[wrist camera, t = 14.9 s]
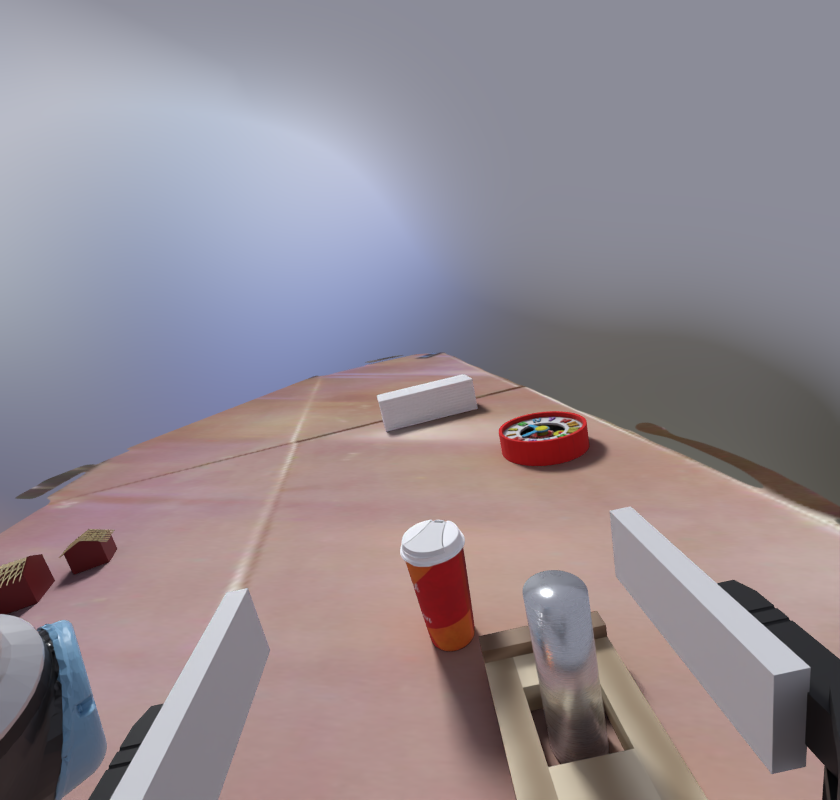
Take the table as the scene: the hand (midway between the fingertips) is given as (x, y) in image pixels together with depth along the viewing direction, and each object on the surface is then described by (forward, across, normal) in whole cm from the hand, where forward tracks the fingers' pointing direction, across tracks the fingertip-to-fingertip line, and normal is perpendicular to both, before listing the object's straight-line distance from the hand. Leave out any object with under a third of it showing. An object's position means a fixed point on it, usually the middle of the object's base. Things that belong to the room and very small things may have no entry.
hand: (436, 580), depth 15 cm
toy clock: (+79, +28, -32) cm, 90 cm away
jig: (+15, +8, -31) cm, 35 cm away
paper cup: (+30, -1, -32) cm, 44 cm away
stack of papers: (+126, +4, -33) cm, 130 cm away
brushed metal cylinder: (+15, +8, -31) cm, 35 cm away
